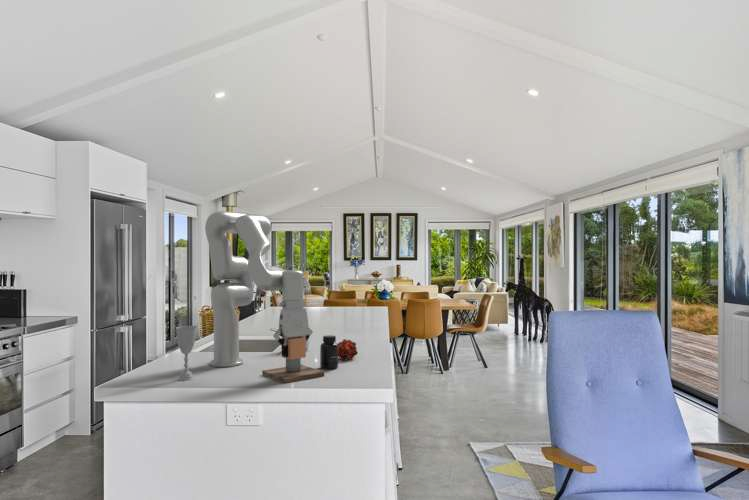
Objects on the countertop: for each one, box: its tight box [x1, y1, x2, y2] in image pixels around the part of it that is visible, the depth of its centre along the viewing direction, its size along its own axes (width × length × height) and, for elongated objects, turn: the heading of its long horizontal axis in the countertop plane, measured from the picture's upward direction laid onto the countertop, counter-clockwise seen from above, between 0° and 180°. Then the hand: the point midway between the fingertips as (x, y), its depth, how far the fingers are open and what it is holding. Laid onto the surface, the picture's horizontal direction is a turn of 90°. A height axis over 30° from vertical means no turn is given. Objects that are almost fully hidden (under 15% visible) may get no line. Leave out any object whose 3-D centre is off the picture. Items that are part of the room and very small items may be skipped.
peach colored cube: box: [281, 337, 307, 360], centre depth 189 cm, size 6×6×7 cm
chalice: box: [174, 325, 198, 381], centre depth 185 cm, size 7×7×18 cm
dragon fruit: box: [337, 338, 359, 361], centre depth 218 cm, size 8×8×12 cm
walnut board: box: [261, 364, 325, 384], centre depth 189 cm, size 16×16×2 cm
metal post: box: [285, 358, 302, 373], centre depth 190 cm, size 4×4×7 cm
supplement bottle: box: [319, 335, 339, 370], centre depth 202 cm, size 7×7×12 cm
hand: (293, 354), depth 189 cm, fingers closed on peach colored cube, 6 cm apart
